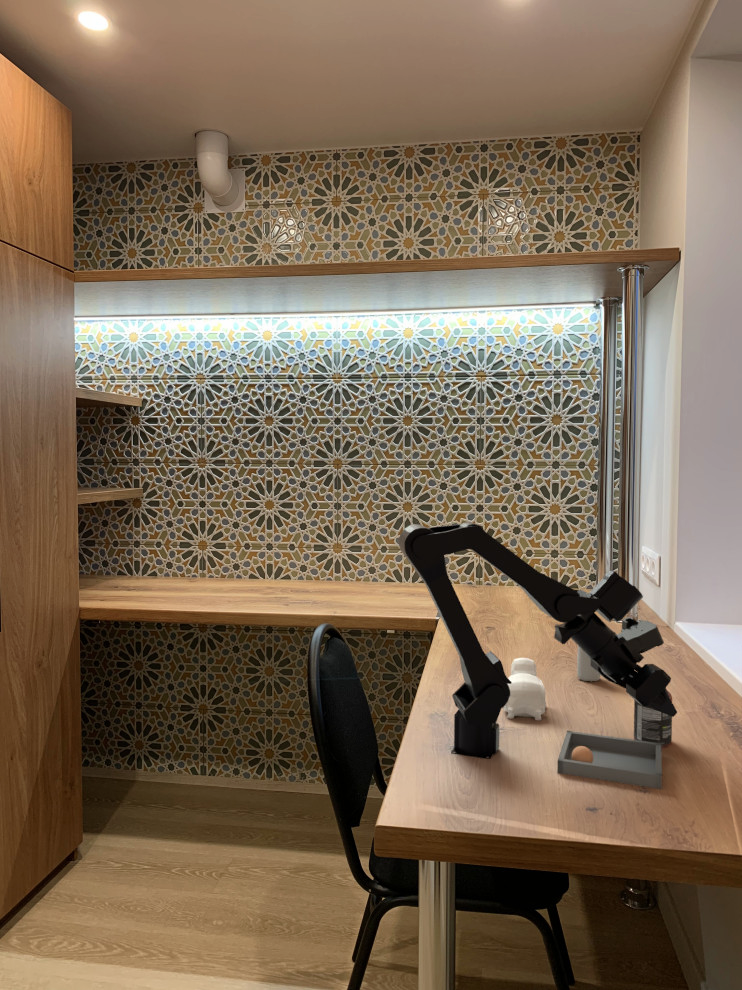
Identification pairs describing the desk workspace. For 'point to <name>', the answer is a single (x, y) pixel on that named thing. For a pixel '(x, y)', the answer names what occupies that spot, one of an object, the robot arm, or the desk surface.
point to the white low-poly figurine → (525, 690)
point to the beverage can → (585, 667)
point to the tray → (613, 759)
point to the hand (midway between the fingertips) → (660, 704)
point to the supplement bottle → (652, 725)
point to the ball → (582, 754)
